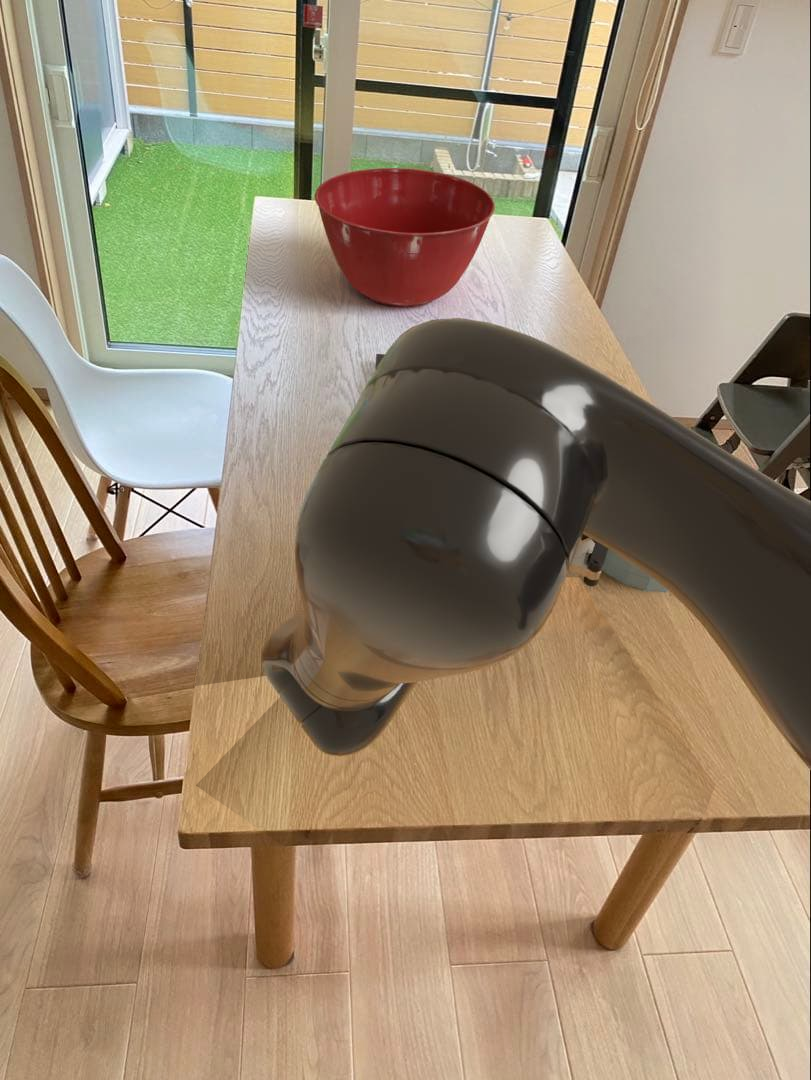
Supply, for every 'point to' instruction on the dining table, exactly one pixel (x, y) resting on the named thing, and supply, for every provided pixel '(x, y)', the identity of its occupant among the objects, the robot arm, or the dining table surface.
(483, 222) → the mixing bowl
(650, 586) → the light-blue faceted ring
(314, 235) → the dining table surface
